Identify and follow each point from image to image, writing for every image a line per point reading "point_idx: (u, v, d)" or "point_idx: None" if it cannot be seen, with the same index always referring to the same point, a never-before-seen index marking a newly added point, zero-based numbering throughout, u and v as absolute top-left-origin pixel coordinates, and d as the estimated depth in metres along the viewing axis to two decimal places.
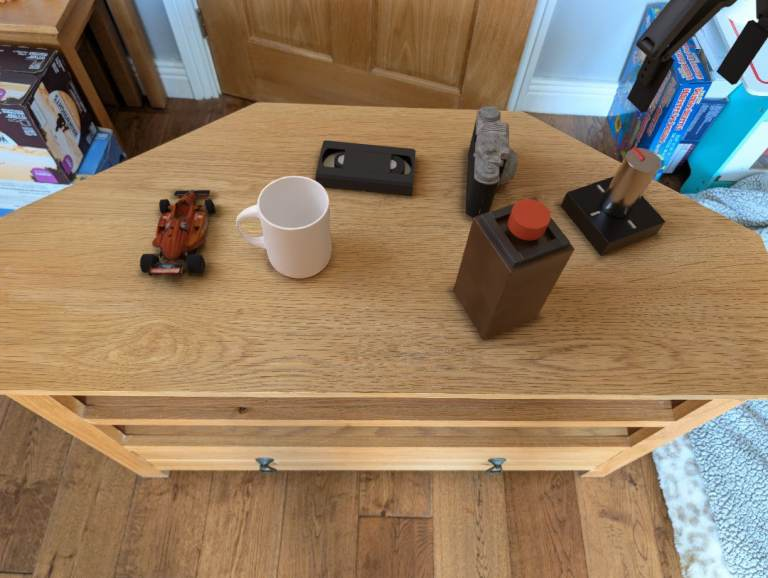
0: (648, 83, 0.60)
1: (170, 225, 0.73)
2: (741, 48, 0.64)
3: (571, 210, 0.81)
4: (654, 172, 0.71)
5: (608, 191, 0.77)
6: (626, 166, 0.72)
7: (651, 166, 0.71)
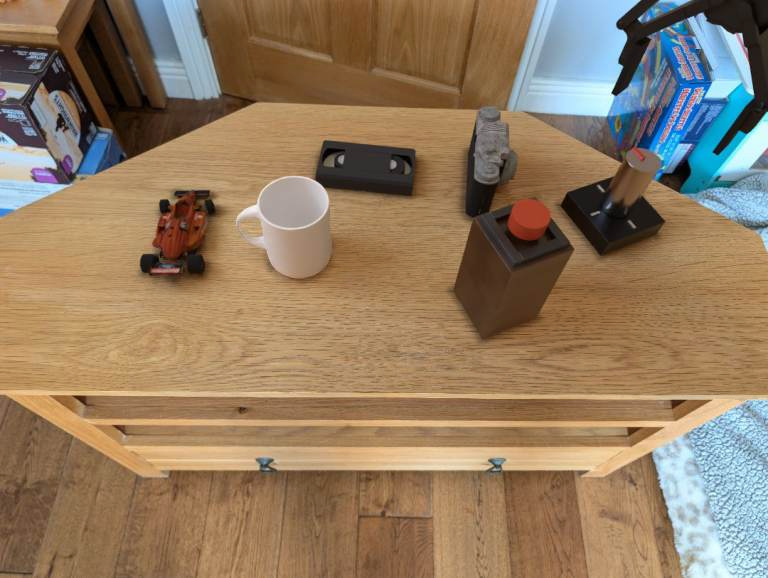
0: (621, 63, 0.66)
1: (170, 225, 0.73)
2: None
3: (571, 210, 0.81)
4: (654, 172, 0.71)
5: (608, 191, 0.77)
6: (626, 166, 0.72)
7: (651, 166, 0.71)
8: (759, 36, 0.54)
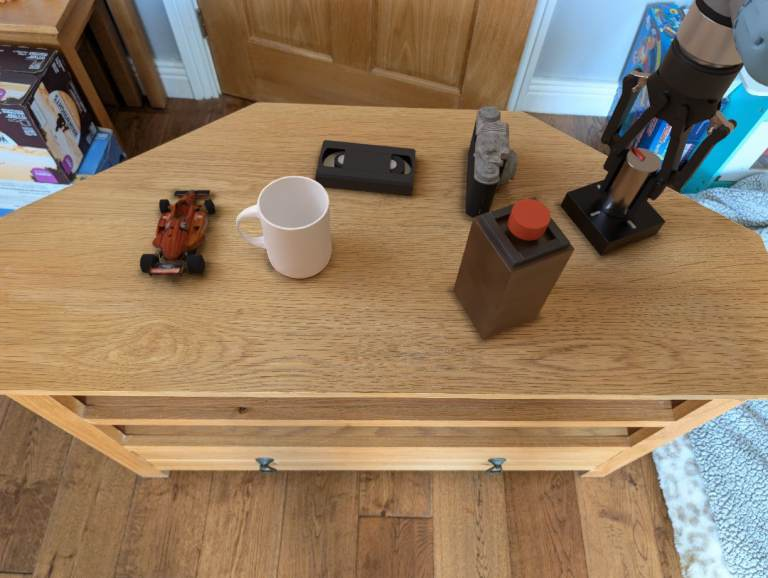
0: (606, 169, 0.76)
1: (170, 225, 0.73)
2: None
3: (571, 210, 0.81)
4: (654, 172, 0.71)
5: (608, 191, 0.77)
6: (626, 166, 0.72)
7: (651, 166, 0.71)
8: (682, 133, 0.65)
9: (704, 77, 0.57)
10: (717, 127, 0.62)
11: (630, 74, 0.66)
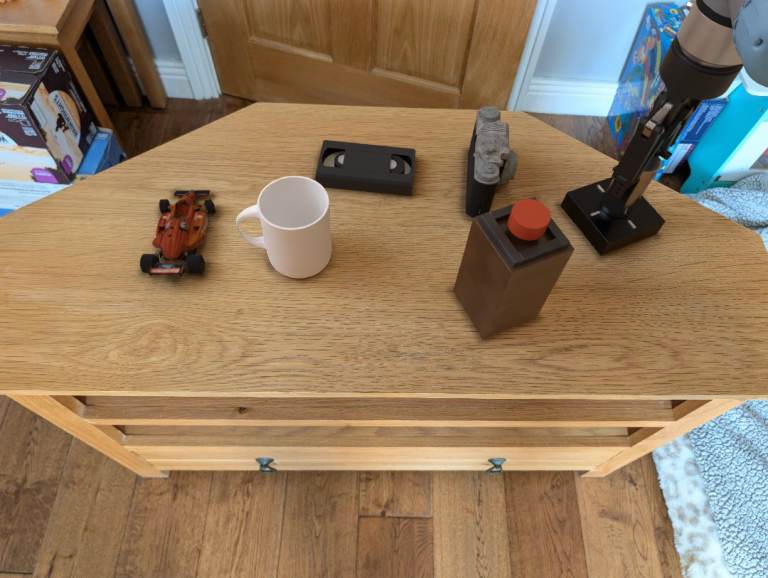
0: (621, 197, 0.73)
1: (170, 225, 0.73)
2: None
3: (571, 210, 0.81)
4: None
5: (628, 204, 0.76)
6: (649, 176, 0.71)
7: None
8: None
9: None
10: None
11: (657, 126, 0.61)
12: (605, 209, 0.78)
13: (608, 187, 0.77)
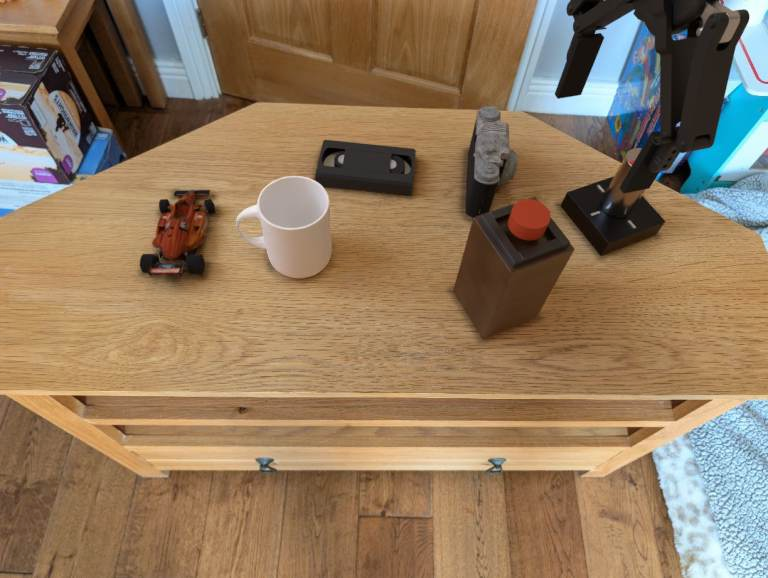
0: None
1: (170, 225, 0.73)
2: (580, 64, 0.55)
3: (571, 210, 0.81)
4: None
5: (628, 204, 0.76)
6: None
7: None
8: None
9: None
10: None
11: (739, 11, 0.38)
12: (605, 209, 0.78)
13: (608, 187, 0.77)
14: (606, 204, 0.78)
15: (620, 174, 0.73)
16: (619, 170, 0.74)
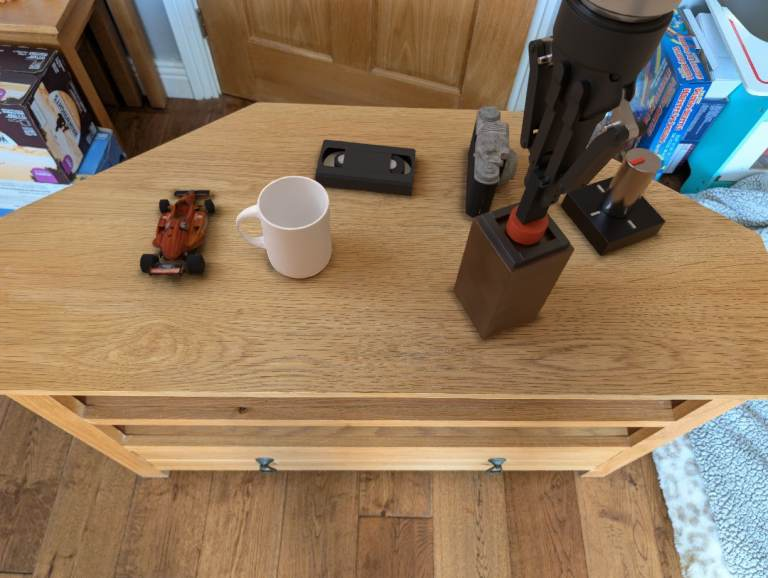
0: None
1: (170, 225, 0.73)
2: None
3: (571, 210, 0.81)
4: None
5: (628, 204, 0.76)
6: (649, 176, 0.71)
7: (651, 156, 0.72)
8: None
9: None
10: None
11: (640, 127, 0.41)
12: (605, 209, 0.78)
13: (608, 187, 0.77)
14: (606, 204, 0.78)
15: (620, 174, 0.73)
16: (619, 170, 0.74)
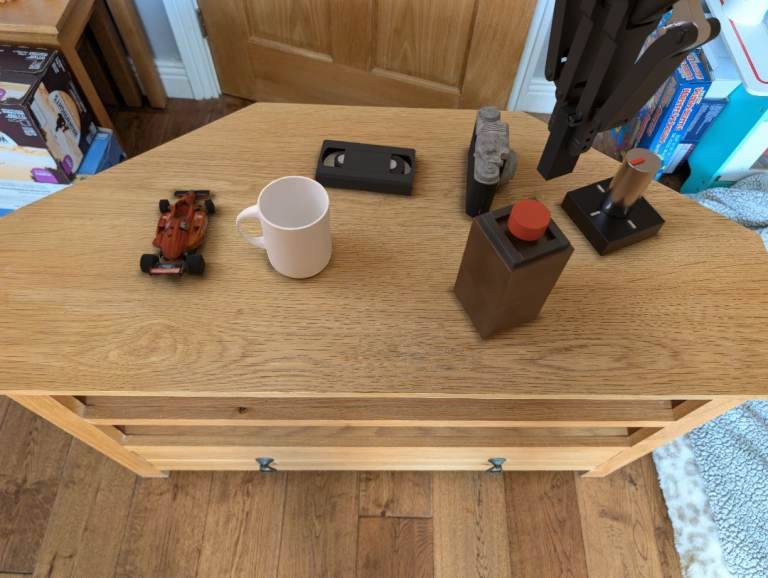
0: None
1: (170, 225, 0.73)
2: None
3: (571, 210, 0.81)
4: None
5: (628, 204, 0.76)
6: (649, 176, 0.71)
7: (651, 156, 0.72)
8: None
9: None
10: None
11: (712, 25, 0.31)
12: (605, 209, 0.78)
13: (608, 187, 0.77)
14: (606, 204, 0.78)
15: (620, 174, 0.73)
16: (619, 170, 0.74)
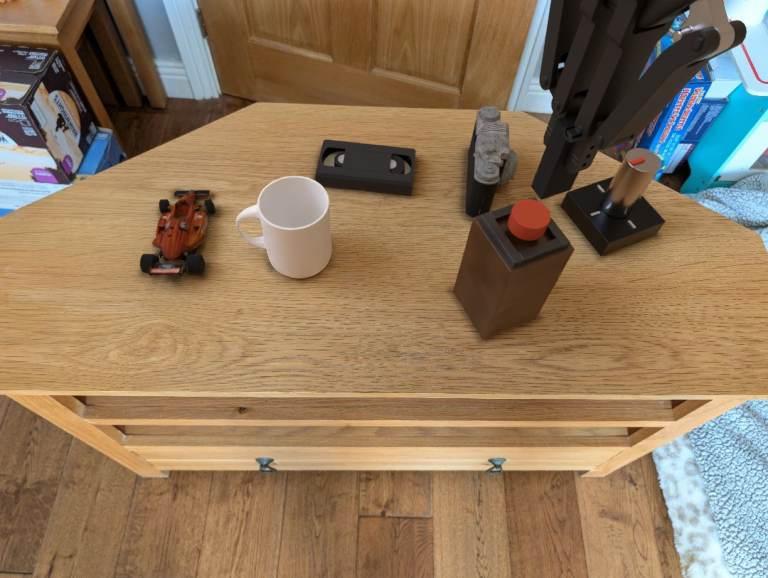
0: None
1: (170, 225, 0.73)
2: None
3: (571, 210, 0.81)
4: None
5: (628, 204, 0.76)
6: (649, 176, 0.71)
7: (651, 156, 0.72)
8: None
9: None
10: None
11: (737, 29, 0.26)
12: (605, 209, 0.78)
13: (608, 187, 0.77)
14: (606, 204, 0.78)
15: (620, 174, 0.73)
16: (619, 170, 0.74)
